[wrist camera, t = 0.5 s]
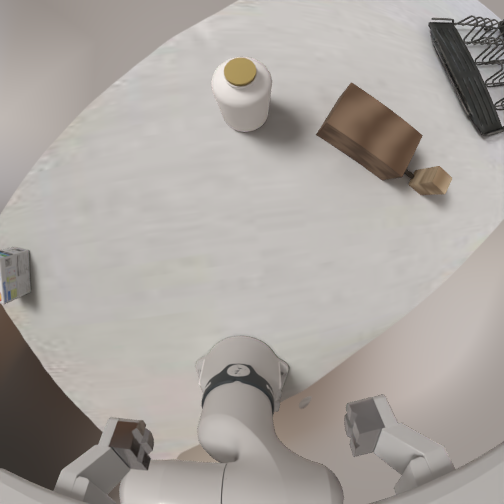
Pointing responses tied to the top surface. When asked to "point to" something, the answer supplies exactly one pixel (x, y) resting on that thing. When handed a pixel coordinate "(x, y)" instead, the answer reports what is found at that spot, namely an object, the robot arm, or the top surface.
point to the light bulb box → (14, 274)
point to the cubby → (370, 133)
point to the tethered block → (429, 180)
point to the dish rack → (470, 70)
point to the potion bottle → (242, 92)
